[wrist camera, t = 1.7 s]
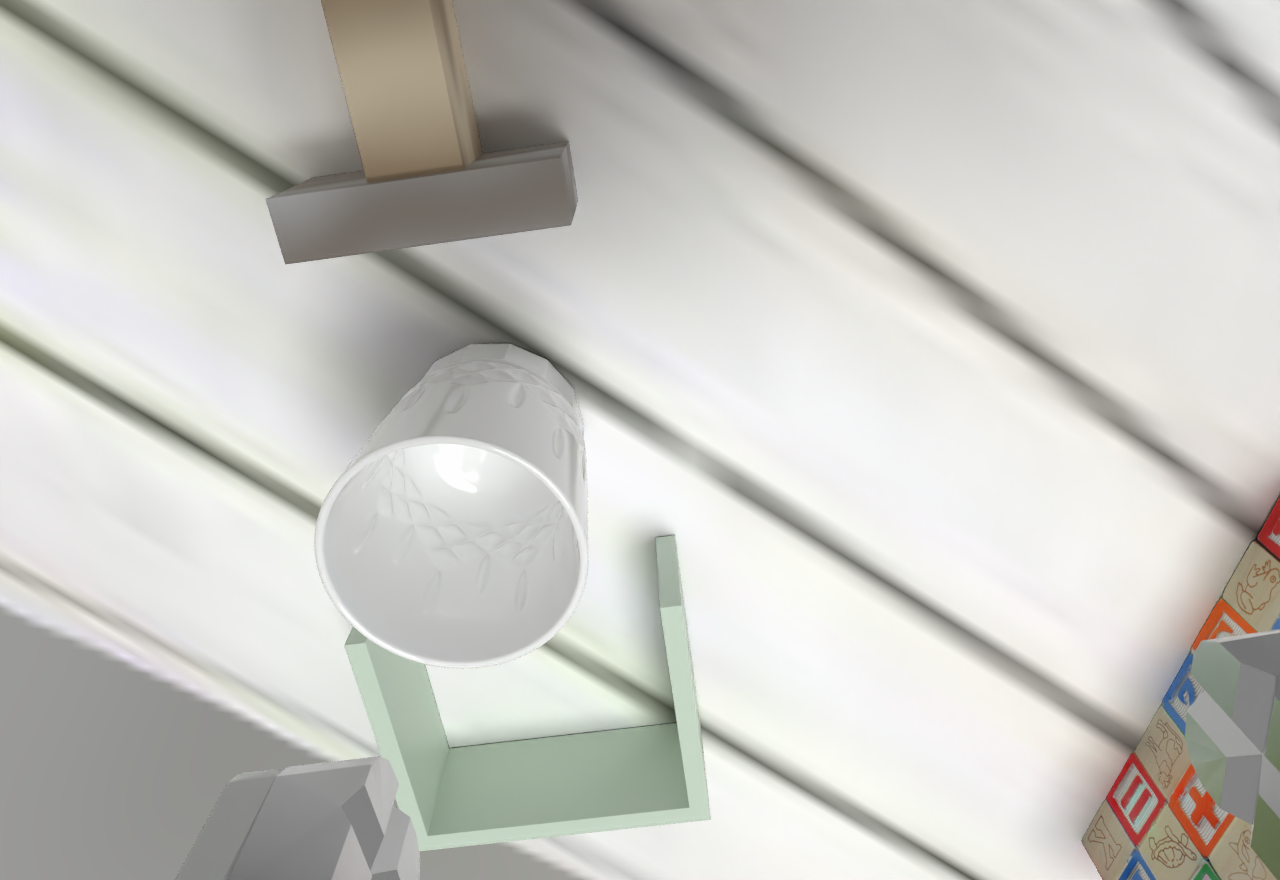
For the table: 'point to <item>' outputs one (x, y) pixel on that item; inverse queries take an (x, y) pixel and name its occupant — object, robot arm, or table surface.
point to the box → (538, 754)
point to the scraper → (415, 147)
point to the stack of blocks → (1187, 759)
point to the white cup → (464, 514)
